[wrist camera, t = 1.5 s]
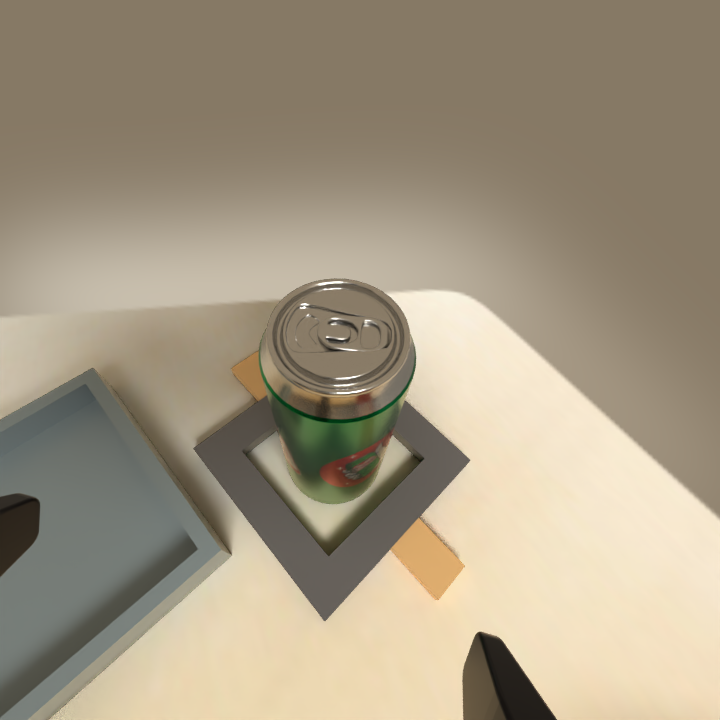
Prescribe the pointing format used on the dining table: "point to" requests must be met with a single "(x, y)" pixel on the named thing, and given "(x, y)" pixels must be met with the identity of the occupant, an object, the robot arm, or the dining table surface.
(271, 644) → the dining table surface
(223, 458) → the grey rectangular frame
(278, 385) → the soda can
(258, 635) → the dining table surface
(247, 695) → the dining table surface
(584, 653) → the dining table surface
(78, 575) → the parts tray
